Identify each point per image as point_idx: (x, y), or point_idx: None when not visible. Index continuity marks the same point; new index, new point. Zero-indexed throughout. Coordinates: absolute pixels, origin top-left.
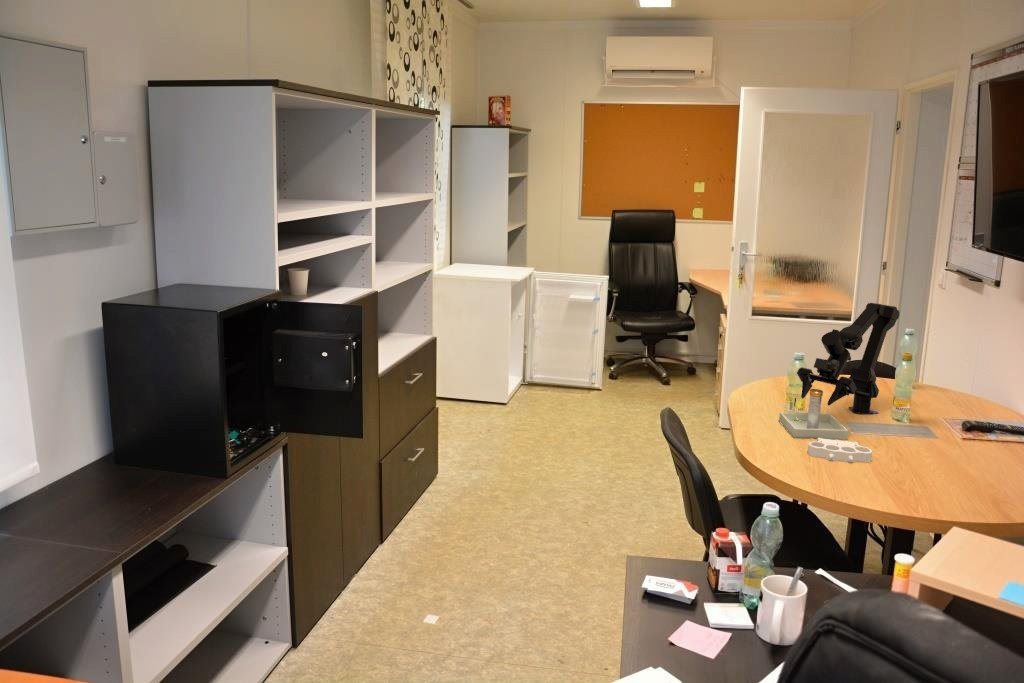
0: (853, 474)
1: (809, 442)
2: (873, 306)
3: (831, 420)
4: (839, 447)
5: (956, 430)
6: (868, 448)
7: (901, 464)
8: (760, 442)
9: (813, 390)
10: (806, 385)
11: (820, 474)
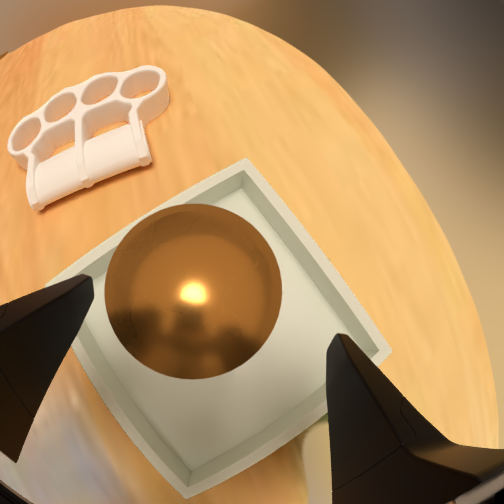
0: (72, 68)
1: (164, 80)
2: None
3: (161, 450)
4: (80, 101)
5: None
6: (11, 149)
7: None
8: (307, 99)
9: (232, 281)
10: (383, 432)
11: (131, 37)
